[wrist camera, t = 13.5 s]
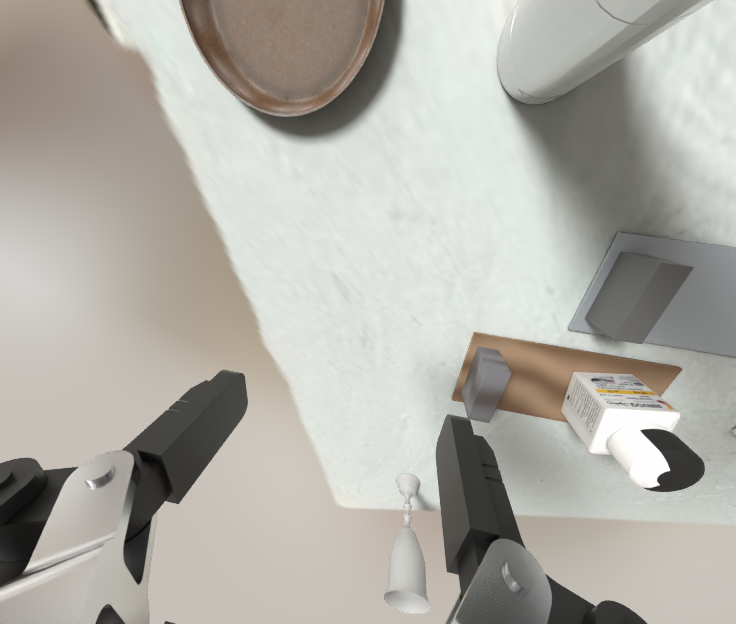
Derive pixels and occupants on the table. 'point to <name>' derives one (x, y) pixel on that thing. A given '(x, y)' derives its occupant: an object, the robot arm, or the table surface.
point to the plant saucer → (284, 48)
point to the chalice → (407, 560)
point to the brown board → (537, 376)
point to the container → (631, 429)
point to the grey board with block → (663, 295)
